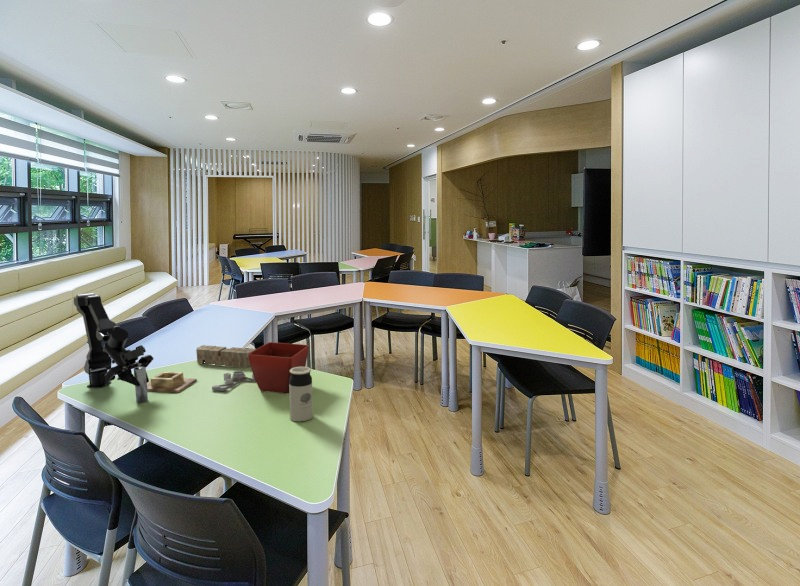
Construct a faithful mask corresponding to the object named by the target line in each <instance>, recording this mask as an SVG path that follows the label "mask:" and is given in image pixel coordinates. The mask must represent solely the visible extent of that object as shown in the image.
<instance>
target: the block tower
mask: <svg viewBox="0 0 800 586" xmlns="http://www.w3.org/2000/svg"><path fill="white" fill-rule="evenodd" d="M256 349H257V348H252V347H251V348H250V347H249V348H245V347H243V348H242V347H233V346H232V347H230V348H227V346H216V345H205V344H203V345H200V346H198V347H196V350H195V351H196V360H197V362H196V363H204V362H205V363H204V364H215V365H214V366H216V365H225V366H224V367H227V366H233V367H232V368H239V367H245V368H244V369H247V368H249V367H251V366H250V362H249V358H248V354H249V353H251V352H252V351H254V350H256ZM246 367H247V368H246Z"/></svg>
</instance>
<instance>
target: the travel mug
mask: <svg viewBox="0 0 800 586" xmlns="http://www.w3.org/2000/svg"><path fill="white" fill-rule="evenodd" d="M311 372H312V369H311V367H308V366H305V367H295V368H292V369H290V373H291V376H290V378H289V392H290V393H289V416H290V418H289V419H290V420H292V421H293V422H297V421H299V423H301V422H300V421H303V422H307V421H309V420H311V419H313V417H314V413H313V410H314V409H313V377H312V375H311Z"/></svg>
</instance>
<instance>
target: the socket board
mask: <svg viewBox="0 0 800 586" xmlns="http://www.w3.org/2000/svg"><path fill="white" fill-rule="evenodd" d="M197 381H198V379H197V378H192V377H191V378H187V377H186V378H185V377H184V372H180V371H179V372H178V371H162V372H161V373H160V372H159V373H158V374H157V375H154V376H153V377H151V378H150V380H149V382H148V383H147V392H156V391H157V393H158V392H159V393H160V392H161V393H181V392H183V391H184V390H185V389H186V388H189V387H190V386H191V385H193V384H194V383H196V382H197Z"/></svg>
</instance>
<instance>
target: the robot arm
mask: <svg viewBox="0 0 800 586" xmlns="http://www.w3.org/2000/svg"><path fill="white" fill-rule="evenodd" d="M73 304H74V306H75V308H76V311H77V312H78V313H79V314H80V315H81V316H82V319H83V324H84V329H85V333H86V338H87V344H88V347H89V349H88V352H87V354H86V357H85V358H86V360H85V363H84V366H83V369H84V373H85V374H87V375H88V382H89V384H87V385H86V387H88V388H103V387H104V386H106V385H108V384H111V383H112V381H114V380H115V379H116V381H117V380H118V381H122V382H126V383H127V384H131V385H133V386H134V387H135V386H138V387H139V386H140V384H139V382H138V381H137V379H136V378H135V377H134V373H133V372H132V369H133V370H134V368H137V367H146V368H147V367H148V366H149V365H150V364H151V363H152V362H153V360H154V357H153V356H152V355H151V354H146V355H145V353H146V352H147V350H146V348H145V347H144V346H143V345H138V346H136V347H135V349H132V350H131V349H126V348H125V347H124V346H125V345H126V343H127V340H128V338H129V332H128V331H127V330H125V328H121V327H120V325H117V324H116V322H115V321H112V320H111V319H110V317H109V315H108V313H107V312H106V310H105V307H104V306H103V303H102V297H101V295H99V294H98V295H97V294H95V293H94V292H93V293H92V292H91V293H84V294H76V296H75V297H74V298H73ZM104 342H106V343H104ZM103 343H104V345H103ZM139 357H140V358H139ZM112 364H115V366H112ZM116 375H117V378H116ZM146 380H147V383H148V382H149V381H150V379H149V376H148V373H147V371H146Z"/></svg>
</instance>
